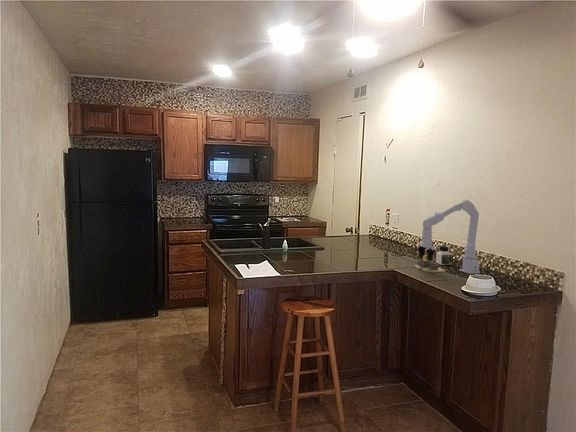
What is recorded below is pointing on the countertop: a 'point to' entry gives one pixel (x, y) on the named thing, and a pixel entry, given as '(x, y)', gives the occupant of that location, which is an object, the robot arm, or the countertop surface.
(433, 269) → the manifold board
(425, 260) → the brass fitting
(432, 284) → the countertop surface
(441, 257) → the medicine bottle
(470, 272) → the robot arm
